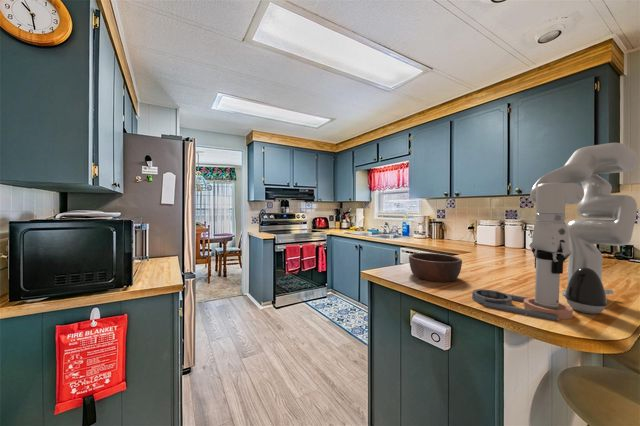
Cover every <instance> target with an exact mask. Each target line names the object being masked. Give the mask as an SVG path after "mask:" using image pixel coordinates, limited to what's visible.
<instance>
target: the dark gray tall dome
mask: <svg viewBox="0 0 640 426" xmlns="http://www.w3.org/2000/svg"><path fill="white" fill-rule="evenodd" d="M565 290H566V292H565V295H564V298H565V299H566V302H567V304H568V306H570V307H571V308H572V309H573V310H575V311H577V312H580V313H583V314H589V315H595V314H600V313H602V312H603V311H604V310H605V308H606V306H607V305H608V299H607V294H606V293H605V287H604V284H603V281H601V279H600V277H599V276H598V274H597V273H596V272H595V271H594V270H592V269H590V268H579V269H577V270H576V271H575V272H574V273H573V275H572V276H571V278H570V280H569V283H568V282H567V285H566V289H565Z"/></svg>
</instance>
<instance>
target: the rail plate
mask: <svg viewBox="0 0 640 426" xmlns="http://www.w3.org/2000/svg"><path fill="white" fill-rule="evenodd" d="M471 297H472V300H474V301H475V302H477V303H478V304H482V306H483V307H486V308H489V307H490V308H491V309H496V310H499V311H504V312H505V311H506V312H510V313H514V312H516V313H515V314H519V313H522V314H521V315H524V314H527V315H526V316H529V315H530V317H535V318H540V319H544V320H545V319H546V320H549V321H554V322H558V321H559V319H558V316H557V315H555V314H550V313H544V312H539V311H534V310H529V309H525V308H524V307H523V308H522V307H519V306H513V305H512V300H513V301H517V302H523V303H524V299H526V298H529V297H527V296H521V295H515V294H510V293H504V292H502V291H499V290H492V289H481V288H480V289H479V288H478V289H473V290H472V296H471Z"/></svg>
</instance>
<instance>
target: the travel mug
mask: <svg viewBox="0 0 640 426" xmlns="http://www.w3.org/2000/svg"><path fill="white" fill-rule="evenodd" d="M557 252H558V251H557ZM536 255H537V256H536V268H535V277H534V278H535V282H534V283H535V284H534V285H535V286H534V298H535V305H536V306H539V307H543V308H547V309H553V310H557V309H559V302H560V280H561V279H560V278H561V277H560V276H561V274H553V273H552V272H551V271H552V261H554V260H553V257H552V253H550V252H545V251H540V250H537V251H536ZM556 255H557V257H558V256H559V255H558V254H556Z"/></svg>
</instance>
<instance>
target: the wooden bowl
mask: <svg viewBox="0 0 640 426" xmlns="http://www.w3.org/2000/svg"><path fill="white" fill-rule="evenodd" d="M408 263H409V267H410V271H411V273H412V275H413V276H414V277H416V278H418V279H421V280H423V281H424V280H425V281H430V282H438V283H449V282H453V281H456V280H457V278H458V277H459V275H460V273H461V269H462V266H463V265H462V264H463V260H462V258H460V257H457V256H454V255H451V254H450V255H449V254H442V253H432V252H421V253H420V252H419V253H418V252H417V253H411V254H409V256H408Z"/></svg>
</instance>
